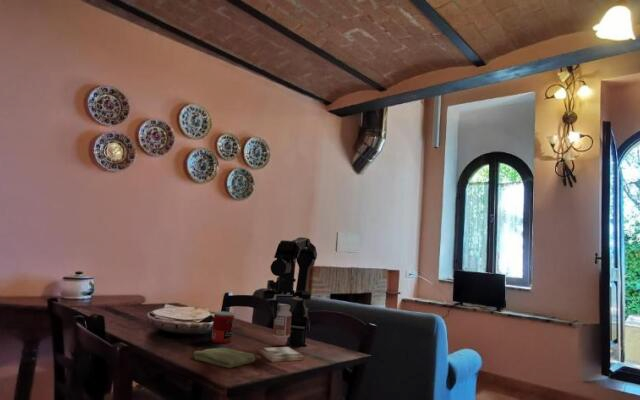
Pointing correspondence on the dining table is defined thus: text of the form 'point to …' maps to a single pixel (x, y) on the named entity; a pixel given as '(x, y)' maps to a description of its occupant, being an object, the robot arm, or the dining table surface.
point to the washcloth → (224, 357)
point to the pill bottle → (282, 321)
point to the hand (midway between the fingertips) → (282, 318)
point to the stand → (281, 354)
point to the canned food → (223, 327)
